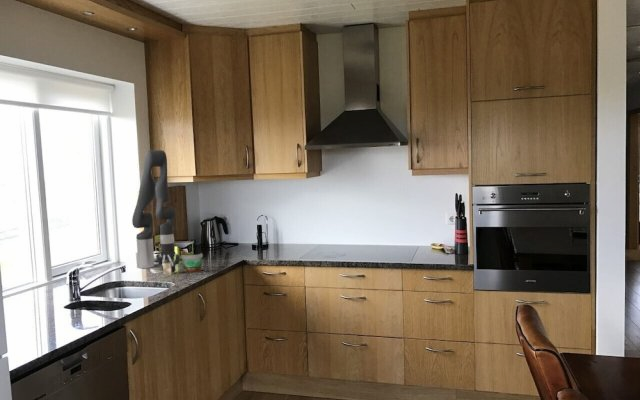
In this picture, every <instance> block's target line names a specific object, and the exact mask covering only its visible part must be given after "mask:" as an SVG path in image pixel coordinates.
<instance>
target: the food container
mask: <svg viewBox="0 0 640 400" xmlns="http://www.w3.org/2000/svg"><path fill="white" fill-rule="evenodd" d="M203 257H204V255H203V253H202V252H201V253H199V254H189V255H184V254H181V255H180V259H182V267H183V272H184V273H187V274H193V273H194V272H195V273H199V272H201V271H202V259H203Z"/></svg>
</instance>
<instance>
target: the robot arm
mask: <svg viewBox="0 0 640 400" xmlns="http://www.w3.org/2000/svg"><path fill="white" fill-rule="evenodd" d="M155 167H156V168H158V167H159V177H158V178H157V181H156V180H155V179H154V176H153V174H152V170H153V168H155ZM140 181H141V182H140V186H139V190H138V196H137V201H136V205H135V208H134V211H133V214H132V218H131V220H132V221H131V223H132V226H133V227H134V228H135V229H143V230H142V231H140V232H139V233H138V234H136V250H137V251H136V252H135V256H136V257H135V261H136V268H137V269H150V268H153V267H155V253H154V238H153V236H154V217H153V215H152V213H151V211H145V210H146V208H147V207H149V205H150V203H152V201H153V200H154V199H155V197H156V204H155V205H156V207H155V217H156V218H157V220H160V221H162V220H163V221H164V220H166V222H163V223H162V224H160V226H159V233H160V234H159V235H160V237H159V240H160V241H159V243H160V253H157V254H156V259H157V263H158V265H159V266H160V265H161V267H162V269H163V264H164V263H166V262H171V265H172V266H171V267H172V273H173V272H175V273H176V266H177V265H179V263H180V259H181V254H180V253H176V252H175V248H176V247H175V236H174V224H175V223H174V222H175V216H176V209H175V208H174V207H173V206H170V205H169V206H164V204H166V203H169V202H170V199H171V198H170V190H169V185H168V158H167V154H166V152H165V150H162V149H161V150H160V149H159V150H158V149H153V150H151V149H150V150H147V151H146V152H145V155H144V160H143V167H142V176H141V180H140ZM173 274H174V273H173Z"/></svg>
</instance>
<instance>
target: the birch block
mask: <svg viewBox="0 0 640 400" xmlns="http://www.w3.org/2000/svg"><path fill="white" fill-rule="evenodd" d="M171 266H172V265H171V262H170V261H167V262H166V263H164V264H163V268H162V272H163V273H162V274H163V275H166V276H167V275H169V276H170V275H173V274H175V273H176V271H175V272H173V273H172V267H171Z"/></svg>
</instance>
